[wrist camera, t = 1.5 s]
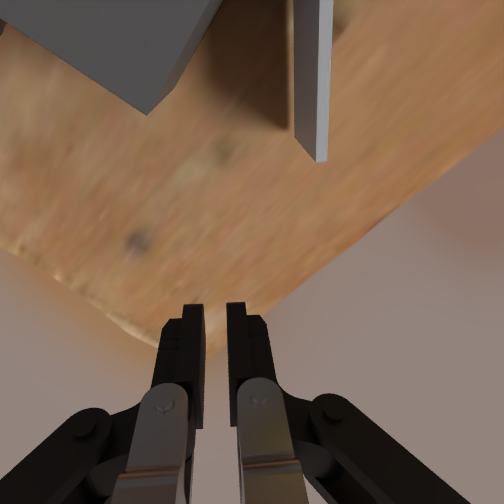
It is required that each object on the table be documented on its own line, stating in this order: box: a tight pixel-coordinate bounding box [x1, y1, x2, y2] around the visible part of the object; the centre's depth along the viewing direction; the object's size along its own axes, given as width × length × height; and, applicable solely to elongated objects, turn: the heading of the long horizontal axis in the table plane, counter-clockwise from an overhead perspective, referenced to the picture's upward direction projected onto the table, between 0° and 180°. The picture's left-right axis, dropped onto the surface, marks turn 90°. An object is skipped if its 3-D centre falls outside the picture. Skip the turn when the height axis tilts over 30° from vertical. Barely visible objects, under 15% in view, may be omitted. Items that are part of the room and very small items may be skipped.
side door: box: [293, 0, 333, 162], centre depth 21 cm, size 1×14×7 cm, turn 4°
